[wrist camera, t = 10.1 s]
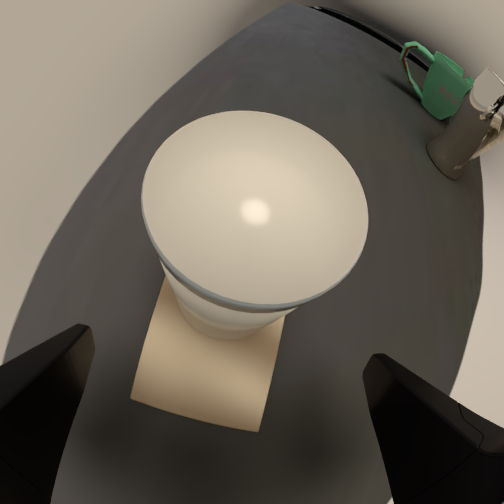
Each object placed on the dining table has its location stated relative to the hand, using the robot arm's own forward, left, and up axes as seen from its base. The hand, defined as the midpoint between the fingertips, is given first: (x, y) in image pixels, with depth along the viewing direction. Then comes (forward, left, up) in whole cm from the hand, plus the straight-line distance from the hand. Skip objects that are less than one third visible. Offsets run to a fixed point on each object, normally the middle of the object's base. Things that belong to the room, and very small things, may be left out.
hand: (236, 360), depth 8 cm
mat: (+2, +1, -8) cm, 8 cm away
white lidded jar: (+4, +1, -7) cm, 8 cm away
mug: (+42, -22, -8) cm, 48 cm away
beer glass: (+27, -22, -8) cm, 36 cm away
